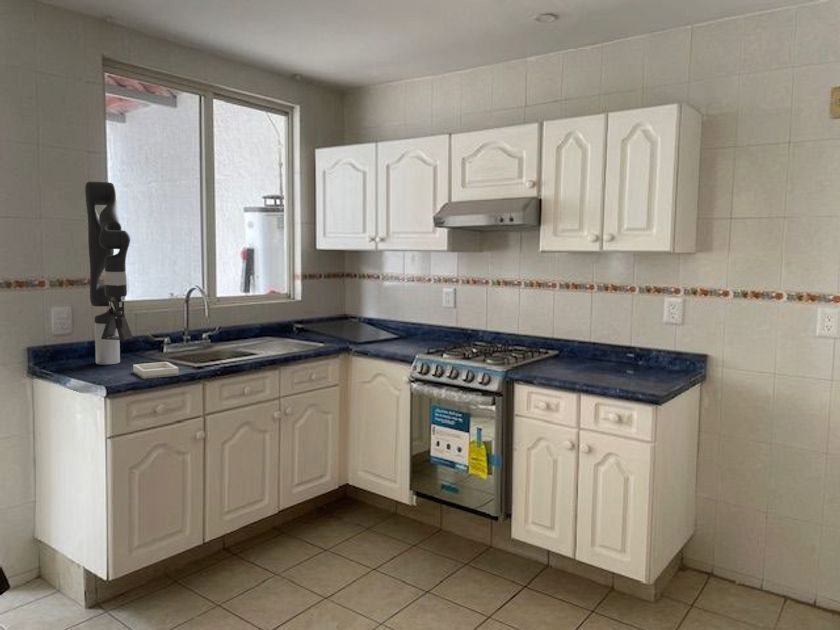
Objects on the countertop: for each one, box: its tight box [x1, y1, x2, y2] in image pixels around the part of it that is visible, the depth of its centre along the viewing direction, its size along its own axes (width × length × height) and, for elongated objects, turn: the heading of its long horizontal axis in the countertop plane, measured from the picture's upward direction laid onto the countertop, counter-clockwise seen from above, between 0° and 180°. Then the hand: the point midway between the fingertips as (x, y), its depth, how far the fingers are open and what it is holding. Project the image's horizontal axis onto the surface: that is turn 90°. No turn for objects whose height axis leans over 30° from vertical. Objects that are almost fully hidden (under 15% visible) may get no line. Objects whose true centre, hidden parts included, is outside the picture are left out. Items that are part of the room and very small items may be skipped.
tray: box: [132, 361, 180, 380], centre depth 251 cm, size 15×13×3 cm
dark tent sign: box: [101, 308, 133, 341], centre depth 242 cm, size 9×6×12 cm, turn 86°
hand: (116, 327), depth 242 cm, fingers closed on dark tent sign, 6 cm apart
